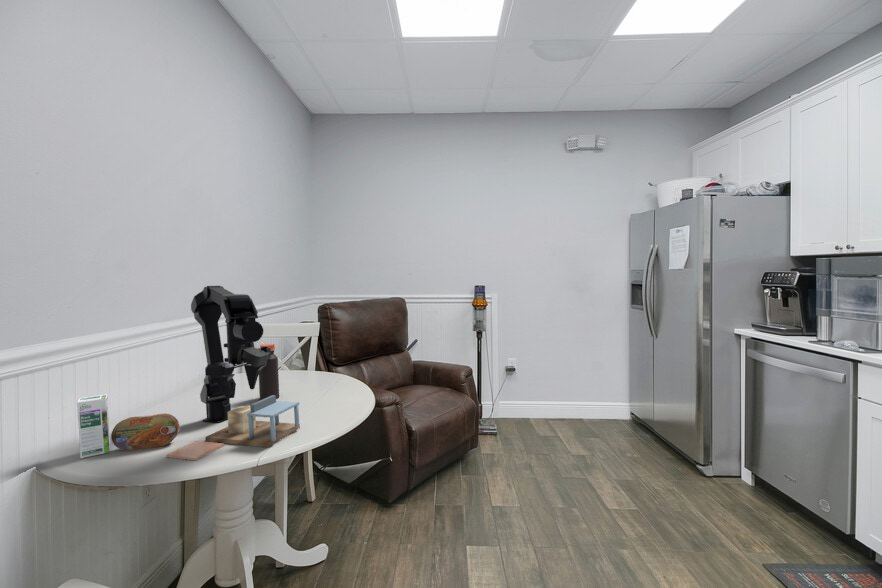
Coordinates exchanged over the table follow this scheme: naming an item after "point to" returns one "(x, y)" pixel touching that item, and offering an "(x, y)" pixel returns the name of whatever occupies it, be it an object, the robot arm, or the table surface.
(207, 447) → the terracotta tile
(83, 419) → the syrup box
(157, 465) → the table surface
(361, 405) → the table surface
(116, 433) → the tin
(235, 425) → the maple block
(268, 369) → the bottle
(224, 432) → the puzzle board
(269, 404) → the light blue toy bench
